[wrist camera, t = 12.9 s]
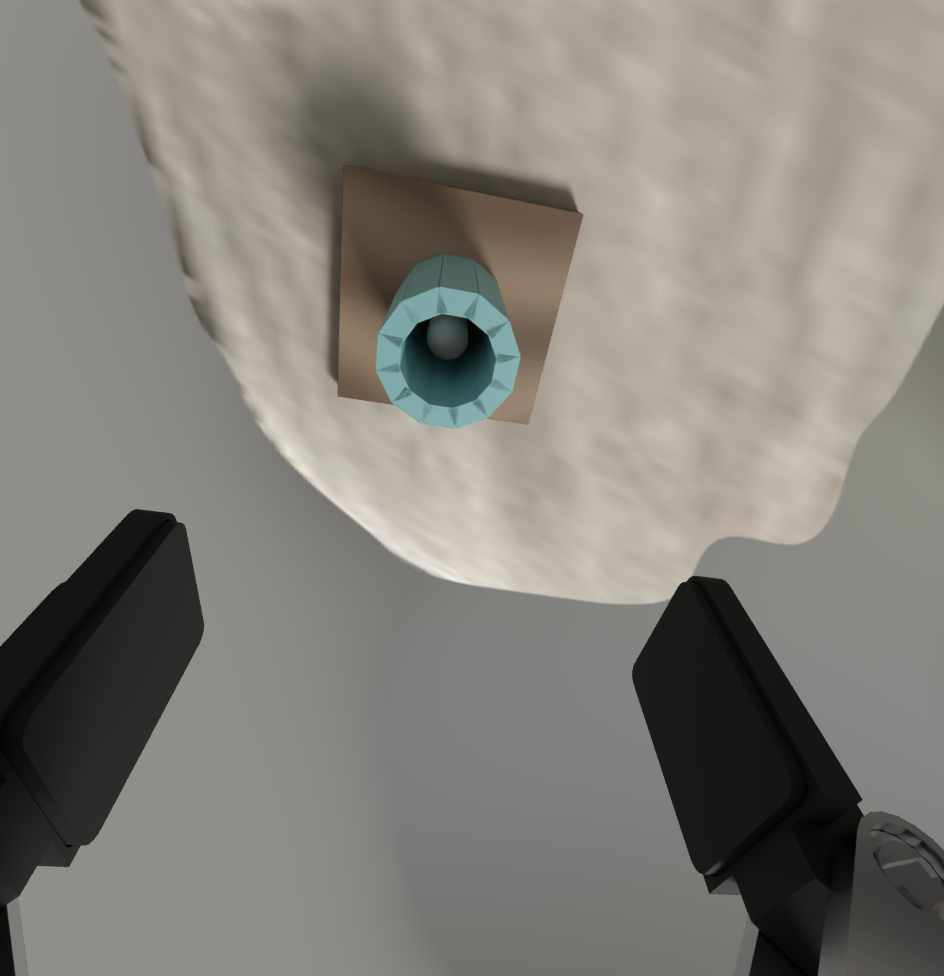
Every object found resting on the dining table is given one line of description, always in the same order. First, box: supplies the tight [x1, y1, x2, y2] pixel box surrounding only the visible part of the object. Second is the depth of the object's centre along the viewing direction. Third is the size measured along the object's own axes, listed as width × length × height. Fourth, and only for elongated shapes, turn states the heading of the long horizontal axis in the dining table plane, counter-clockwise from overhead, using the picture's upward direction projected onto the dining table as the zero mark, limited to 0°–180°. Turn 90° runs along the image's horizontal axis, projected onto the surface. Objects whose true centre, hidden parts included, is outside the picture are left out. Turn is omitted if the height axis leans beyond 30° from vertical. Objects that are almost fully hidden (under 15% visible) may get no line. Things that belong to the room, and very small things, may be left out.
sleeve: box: [376, 254, 521, 429], centre depth 24 cm, size 6×6×8 cm
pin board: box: [338, 165, 583, 425], centre depth 26 cm, size 12×12×7 cm
